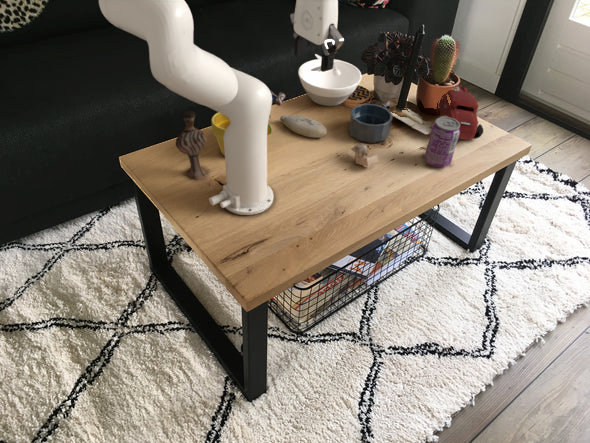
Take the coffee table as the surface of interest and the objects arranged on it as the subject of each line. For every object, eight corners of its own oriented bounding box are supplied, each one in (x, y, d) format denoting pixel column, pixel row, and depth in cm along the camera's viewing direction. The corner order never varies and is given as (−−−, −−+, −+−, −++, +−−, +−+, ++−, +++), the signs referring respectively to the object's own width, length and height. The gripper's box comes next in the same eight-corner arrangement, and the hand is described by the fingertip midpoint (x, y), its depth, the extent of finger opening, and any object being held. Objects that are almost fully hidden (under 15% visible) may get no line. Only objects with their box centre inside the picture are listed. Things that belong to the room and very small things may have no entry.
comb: (424, 139, 142) (443, 133, 148) (427, 131, 141) (447, 126, 147) (385, 116, 150) (405, 111, 156) (388, 108, 148) (408, 104, 155)
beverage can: (448, 154, 138) (459, 116, 130) (451, 170, 133) (464, 131, 125) (422, 152, 139) (432, 114, 131) (425, 167, 134) (435, 129, 125)
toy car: (463, 101, 162) (475, 72, 155) (483, 150, 141) (499, 119, 135) (419, 93, 161) (430, 64, 154) (433, 142, 140) (446, 110, 133)
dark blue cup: (368, 148, 139) (372, 130, 135) (340, 130, 145) (342, 112, 141) (397, 135, 145) (400, 116, 141) (368, 117, 151) (371, 99, 147)
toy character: (361, 162, 138) (359, 141, 136) (379, 166, 131) (377, 144, 129) (349, 166, 136) (346, 144, 134) (367, 171, 130) (364, 148, 127)
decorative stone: (285, 117, 149) (285, 107, 147) (331, 133, 144) (332, 123, 142) (274, 127, 145) (274, 117, 143) (321, 143, 140) (322, 133, 138)
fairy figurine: (344, 68, 148) (335, 51, 151) (323, 70, 146) (314, 53, 149) (338, 83, 153) (330, 66, 156) (318, 85, 151) (309, 69, 154)
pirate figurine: (220, 99, 132) (255, 63, 137) (227, 128, 143) (260, 93, 148) (262, 124, 128) (296, 86, 133) (266, 151, 140) (297, 115, 145)
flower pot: (240, 135, 141) (239, 104, 134) (259, 154, 135) (259, 122, 128) (207, 146, 136) (204, 115, 130) (225, 166, 130) (223, 134, 124)
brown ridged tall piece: (182, 182, 125) (173, 119, 113) (178, 170, 129) (168, 108, 116) (211, 176, 127) (205, 114, 115) (206, 165, 131) (200, 103, 118)
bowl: (313, 76, 168) (315, 53, 163) (367, 92, 162) (371, 68, 157) (286, 102, 156) (287, 77, 150) (343, 120, 150) (346, 95, 144)
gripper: (280, -25, 109) (278, 52, 120) (333, -1, 99) (324, 80, 110) (307, -30, 112) (302, 45, 124) (360, -7, 102) (350, 72, 114)
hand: (313, 62), depth 117 cm, fingers open, 9 cm apart
